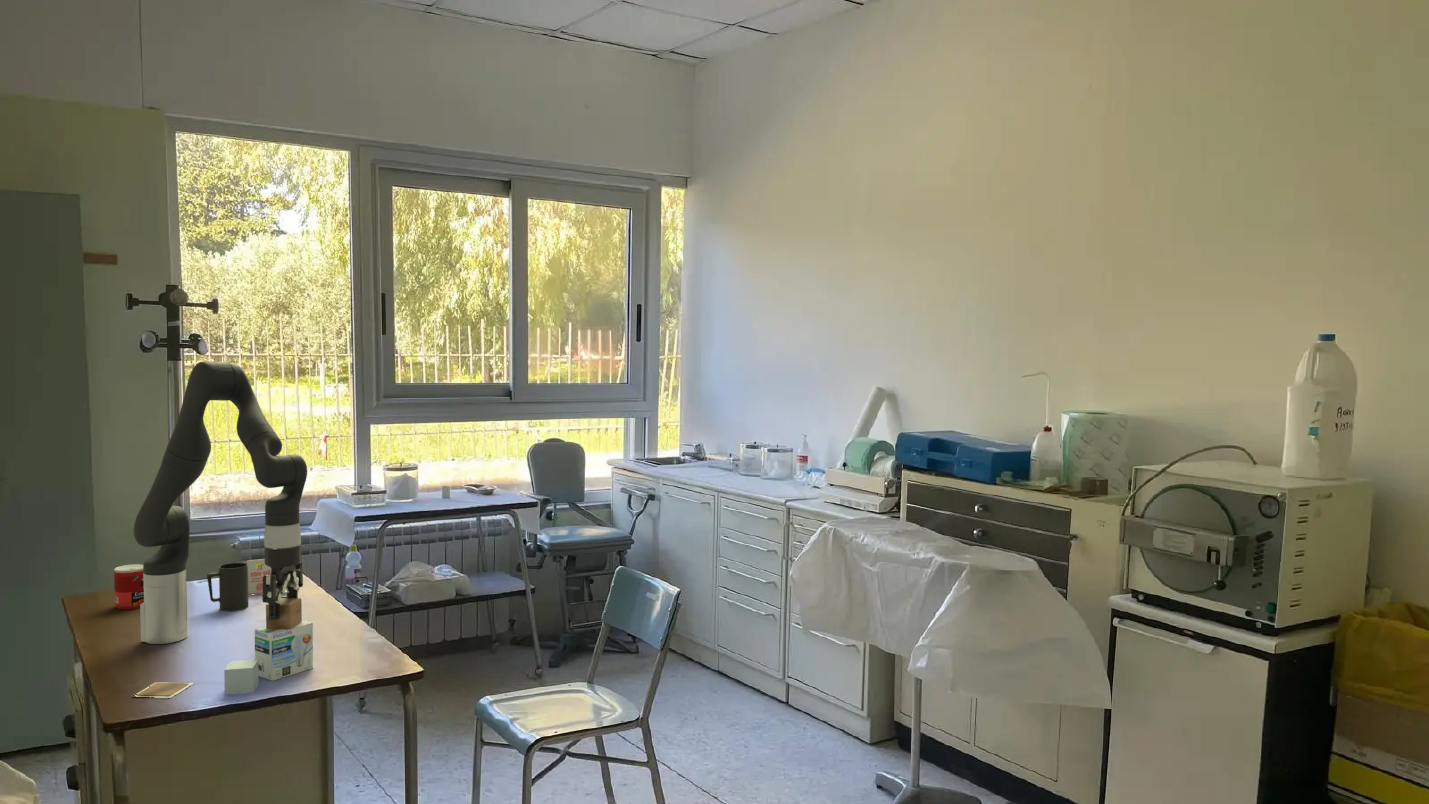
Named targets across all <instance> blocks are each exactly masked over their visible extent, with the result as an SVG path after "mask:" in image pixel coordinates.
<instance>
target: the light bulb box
mask: <svg viewBox="0 0 1429 804" xmlns="http://www.w3.org/2000/svg"><path fill="white" fill-rule="evenodd" d="M313 629H314V625H313V622H311V621H310V622H309V621H306V620H303V619H302V622H301V623H299V624H298V625H296V626H295V627H293V628H292V629H266V625H265V626H262V627H258V628H254V660H257V659H258V667H259V677H260V678H262V677H263V679H265V678H266V680H268V681H271V680H272V681H275V680H276V681H277V680H279V679H282V677H283V678H285V677H288V676H292V675H296V674H300V673H301V672H305V670H306V671H308V670H307V669H309V670H312V669H314V667H313V666H314V662H313V660H314V658H313V657H314V656H313V655H314V654H313V653H314V652H313V651H314V650H313V649H314V647H313V646H314V643H313V641H314V638H313V637H314V636H313V635H314V631H313Z"/></svg>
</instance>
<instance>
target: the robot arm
mask: <svg viewBox="0 0 1429 804" xmlns="http://www.w3.org/2000/svg"><path fill="white" fill-rule="evenodd" d="M210 401H218V402H219V401H222V402H223V401H226V402H227V401H228V402H229V401H230V402H231V403H233V405H234V406H235V407H236V408H237V410H238V415H237V416H238V417H237V421H236V432H237V436H238V438H239V440H240V442H241V444H243V446H244V448H245V449H246V451H247V453H248V454H249V455H250V459H251V462H252V465H253V469H254V475H255V478H256V481H257V482H258V483H259V484H260V485H261V486H263V487H264V488H267V489H274V488H282V489H281V492H280V493H279V494H278V495H276V496H273V497H271V498H269V499H267V500H266V501H265V505H264V519H265V520H264V523H265V524H264V525H265V526H264V536H263V537H264V538H263V540H264V541H263V542H264V544H263V546H264V548H263V549H264V559H265V565H266V566H269V567H271V574H270V575H264V576H263V594H262V596H261V597H262V603H266V604H269V619H270V620H278V619H279V618H280V603H279V602H280V599H281V595H282V594H284V593H285V592H288V593H287V598H299V597H298V595H299V592H300V588H303V586H304V578H303V562H302V539H301V538H302V532H301V527H300V503H301V500H302V496H303V492H304V489H305V485H306V482H307V478H308V466H307V463H306V460H305V459H304V458H303V457H302V456H301V455H299V454H293V453H292V454H283V455H282V454H281V455H279V454H280V453H281V452H282V449H283V443H282V441H281V439H280V437H279V436H278V434H277V433H276V431H275V430H274V429H273V427H272V426H271V424H270V423H269V421H268V420H267V419H266V416H265V415H264V413H263V411H262V408H261V407H260V404H259V402H258V400H257V397H256V394H255V392H254V390H253V387H252V385H251V383H250V380H249V378H248V376H247V374H246V372H245V370H244V369H243V368H242V367H241V366H240V365H239V364H237V363H234V362H228V361H214V360H213V361H211V360H210V361H209V360H202V361H200V362H197V363H196V364H195V365H194V366H193V368H192V369H191V372H190V375H189V376H188V380H187V382H186V388H185V392H184V396H183V399H182V403H181V406H180V410H179V414H178V417H177V419H176V422H175V426H174V429H173V431H172V434H171V436H170V439H169V441H168V443H167V445H166V448H165V451H164V453H163V457H162V460H161V463H160V466H159V469H158V471H157V473H156V475H155V479H154V481H153V484H152V486H151V488H150V490H149V491H148V493H147V496H146V497H145V499H144V501H143V503H142V505H141V507H140V509H139V511H138V513H137V516H136V518H135V520H134V524H133V535H134V539H135V541H136V542H137V544H138V545H139V546H142V547H144V548H151V547H152V548H153V547H159V546H160V547H159V549H158V550H157V552H156V553H155V554H153V555H152V556H151V557H149V558H147V559H146V560H145V561H144V562H143V564H142V565H143V578H144V603H142V604H141V605H140V609H139V612H140V615H139V616H140V642H143V643H146V644H152V645H163V644H164V645H165V644H171V643H175V642H179V641H182V640H184V639H186V638H187V637H188V602H187V600H188V599H187V598H188V596H187V595H188V594H187V593H188V591H187V561H188V559H189V557H190V553H189V552H190V533H191V532H190V530H191V527H190V519H189V516H188V514H187V512H186V510H185V509H184V508H183V507H181V506H178V505H174V503H175V502H176V501H177V500H178V498H179V497H180V496H181V495H183V493H184V492H186V491H187V490H188V489H189V488H190V486H192V485H193V484H194V483H195V482H196V481H197V479H199V478H200V476H201V475H202V473H203V472H204V469H205V467H206V465H207V462H208V460H209V457H210V455H211V452H212V444H211V438H210V435H209V433H208V430H207V428H206V426H205V423H204V422H205V421H204V416H205V412H206V408H207V407H208V404H209V402H210ZM267 592H269V593H267ZM276 594H277V596H276Z"/></svg>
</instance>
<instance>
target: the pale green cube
mask: <svg viewBox="0 0 1429 804" xmlns="http://www.w3.org/2000/svg"><path fill="white" fill-rule="evenodd" d="M223 673H224V674H223V675H224V679H223V680H224V695H225V694H228V695H237V694H238V695H239V694H253V693H254V692H255V690H256V689H257V687H258V686H259V684H260V683H259V682H260V681H259V667H258V659H257V660H255V659H244V660H243V659H242V660H230V662H229V663H228V664H227V666H226V667H225V668H224V672H223ZM258 683H259V684H258ZM257 685H258V686H257ZM256 686H257V687H256ZM255 688H256V689H255Z"/></svg>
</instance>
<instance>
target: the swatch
mask: <svg viewBox="0 0 1429 804" xmlns="http://www.w3.org/2000/svg"><path fill="white" fill-rule="evenodd" d="M193 685H194V682H162V681H161V682H160V681H159V682H157V681H155V682H153V683H151V684H150V685H149V686H150V687H149V686H148V687H146V688H143V689H142V690H140V691H139V692H137V693H136V694H137V695H135V694H134V695H135V696H136V697H150V698H149V699H152V698H151V697H154V698H153V699H168V698H169V699H173V698H174V697H176V696H177V695H178V694H180V693H181V692H184V691H185V690H187V689H189V688H190V687H192V686H193ZM189 686H190V687H189ZM186 688H187V689H186ZM175 695H176V696H175Z"/></svg>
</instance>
